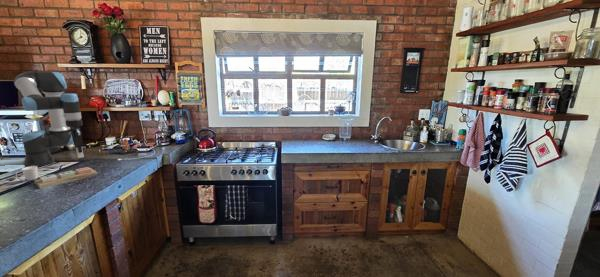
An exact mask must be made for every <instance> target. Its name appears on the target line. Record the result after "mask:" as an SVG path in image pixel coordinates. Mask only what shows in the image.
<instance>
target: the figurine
mask: <svg viewBox="0 0 600 277" xmlns="http://www.w3.org/2000/svg"><path fill="white" fill-rule="evenodd" d="M120 145H121V146H122V149H121V150H118V151H117V152H118V154H120V155H122V156H123V155H129V154H135V152H136V153H137V150H136V149H133V148H131V145H130V142H129V140H128V139H126V138H123V139H122V140H121V142H120Z"/></svg>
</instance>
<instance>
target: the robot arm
mask: <svg viewBox="0 0 600 277" xmlns="http://www.w3.org/2000/svg"><path fill="white" fill-rule="evenodd" d="M13 84H14V86H15V88H16V89H18V90H19V91H20V93H21V95H22V96H23V97H22V98H21V105H22V107H23V110H25V111H27V112H28V111H31V112H36V111H48V112H47V113H48V117H49V121H50V127H49V128H48V131H45V130H43V129H42V130H34V131H29V132H27V133H24V134H22V135H21V143H22V145H23V149H24V153H25V158H24V162H23V164H24V168H25V167H30V166H37V167H43V166H47V165H51V164H54V163H55V158H54V157H53V155H52V154H51V153H50V150H49V149H52V148H58V147H59V148H60V147H67V146H72V145H73V146H74V148H75V151H76V156H77V159H80V158H84V157H85V154H84V151H83V150H84V149H83V147H84V142H83V132H82V130H81V128H80V127H82V126H83V125H84V123H83V120H82V112H81V108H80V101H79V97H78V94H77V93H71V92H70V93H65V90H67V88H68V86H67V81H66V79H65V77H64V75H63V74H62V73H61V72H58V71H34V70H33V71H32V70H30V71H29V70H28V71H24V72H22V73H20V74H18V75H16V77H15V78H14V80H13ZM42 93H43V94H44V95H45V96H43V95H42Z"/></svg>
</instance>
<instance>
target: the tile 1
mask: <svg viewBox="0 0 600 277" xmlns="http://www.w3.org/2000/svg"><path fill="white" fill-rule="evenodd" d="M56 175H57V174H54V173H52V174H48V175H43V176H39V179H40V181H41V182H42V183H44V182H49V181H53V180H57V176H56Z"/></svg>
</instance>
